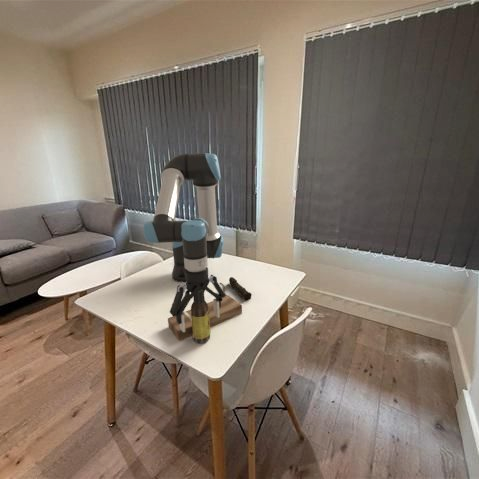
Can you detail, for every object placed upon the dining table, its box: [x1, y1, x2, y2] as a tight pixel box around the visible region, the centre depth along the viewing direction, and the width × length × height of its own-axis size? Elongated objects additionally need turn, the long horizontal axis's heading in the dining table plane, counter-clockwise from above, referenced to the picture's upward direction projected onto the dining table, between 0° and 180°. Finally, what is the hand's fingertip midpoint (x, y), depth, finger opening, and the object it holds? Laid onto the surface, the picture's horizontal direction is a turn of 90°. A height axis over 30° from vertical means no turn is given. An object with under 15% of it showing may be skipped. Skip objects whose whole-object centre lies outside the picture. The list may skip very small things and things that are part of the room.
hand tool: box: [228, 276, 252, 302], centre depth 126 cm, size 19×4×5 cm, turn 26°
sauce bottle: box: [190, 290, 211, 344], centre depth 92 cm, size 6×6×20 cm
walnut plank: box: [167, 294, 243, 342], centre depth 105 cm, size 10×28×4 cm, turn 126°
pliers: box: [213, 282, 229, 296], centre depth 126 cm, size 10×1×20 cm
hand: (200, 322), depth 93 cm, fingers open, 13 cm apart
